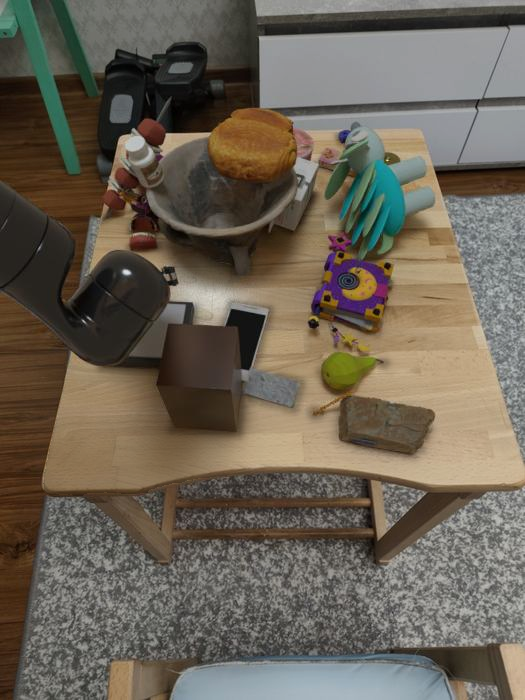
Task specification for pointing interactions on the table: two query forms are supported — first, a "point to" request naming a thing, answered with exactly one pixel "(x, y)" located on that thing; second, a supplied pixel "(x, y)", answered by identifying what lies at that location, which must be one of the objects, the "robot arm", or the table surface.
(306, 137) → the container
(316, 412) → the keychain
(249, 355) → the smartphone
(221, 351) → the stand
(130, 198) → the toy car
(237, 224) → the bowl
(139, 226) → the dentures model
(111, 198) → the skewer
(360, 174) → the teal bird figurine
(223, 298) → the table surface
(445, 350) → the table surface
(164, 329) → the scale
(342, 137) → the blue irregular piece
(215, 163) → the bread loaf
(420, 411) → the stone
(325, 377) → the fruit
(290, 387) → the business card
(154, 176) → the pill bottle
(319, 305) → the book
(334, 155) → the toy
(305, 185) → the ink box
